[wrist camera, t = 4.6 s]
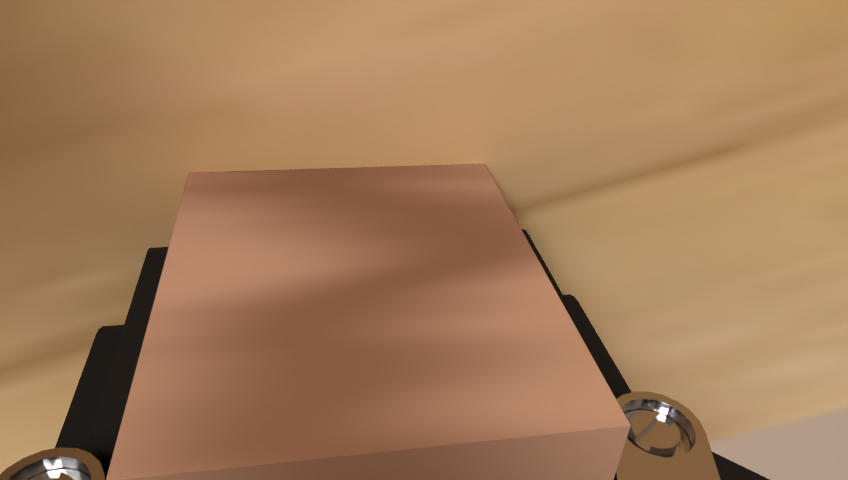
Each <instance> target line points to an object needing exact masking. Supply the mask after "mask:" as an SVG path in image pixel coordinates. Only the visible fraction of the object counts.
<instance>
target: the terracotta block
mask: <svg viewBox="0 0 848 480" xmlns="http://www.w3.org/2000/svg"><path fill="white" fill-rule="evenodd" d="M630 427H631V425H630V423H629V422H628V420H627V418H626V416H625V414H624V413H623V411H622V409H621V407H620V406H619V404H618V402H617V400H616V398H615V397H614V395H613V393H612V391H611V389H610V388H609V386H608V384H607V382H606V380H605V379H604V377H603V375H602V373H601V371H600V370H599V368H598V366H597V364H596V362H595V361H594V359H593V357H592V355H591V354H590V352H589V350H588V348H587V346H586V345H585V343H584V341H583V339H582V337H581V336H580V334H579V332H578V330H577V328H576V327H575V325H574V323H573V321H572V319H571V318H570V316H569V314H568V312H567V310H566V309H565V307H564V305H563V303H562V302H561V300H560V298H559V296H558V294H557V293H556V291H555V289H554V287H553V285H552V284H551V282H550V280H549V278H548V276H547V275H546V273H545V271H544V269H543V267H542V266H541V264H540V262H539V260H538V258H537V257H536V255H535V253H534V251H533V250H532V248H531V246H530V244H529V242H528V241H527V239H526V237H525V235H524V233H523V232H522V230H521V228H520V226H519V224H518V223H517V221H516V219H515V217H514V215H513V214H512V212H511V210H510V208H509V206H508V205H507V203H506V201H505V199H504V198H503V196H502V194H501V192H500V190H499V189H498V187H497V185H496V183H495V181H494V180H493V178H492V176H491V174H490V172H489V171H488V169H487V167H486V165H485V164H459V165H427V166H395V167H362V168H330V169H297V170H265V171H232V172H200V173H189V174H188V178H187V182H186V185H185V189H184V193H183V196H182V200H181V204H180V208H179V211H178V215H177V219H176V222H175V226H174V230H173V233H172V237H171V241H170V245H169V248H168V252H167V256H166V259H165V263H164V267H163V270H162V274H161V278H160V282H159V285H158V289H157V293H156V296H155V300H154V304H153V307H152V311H151V315H150V319H149V322H148V326H147V330H146V333H145V337H144V341H143V345H142V348H141V352H140V356H139V359H138V363H137V367H136V370H135V374H134V378H133V382H132V385H131V389H130V393H129V396H128V400H127V404H126V407H125V411H124V415H123V419H122V422H121V426H120V430H119V433H118V437H117V441H116V444H115V448H114V452H113V456H112V459H111V463H110V467H109V470H108V474H107V478H106V480H613V479H614V476H615V473H616V470H617V467H618V464H619V461H620V458H621V455H622V451H623V448H624V445H625V442H626V439H627V436H628V433H629V430H630Z"/></svg>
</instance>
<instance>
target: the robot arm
mask: <svg viewBox="0 0 848 480" xmlns="http://www.w3.org/2000/svg"><path fill="white" fill-rule="evenodd" d="M522 232H523V233H524V235H525V237H526V239H527V241H528V242H529V244H530V246H531V248H532V250H533V251H534V253H535V255H536V257H537V258H538V260H539V262H540V264H541V266H542V267H543V269H544V271H545V273H546V275H547V276H548V278H549V280H550V282H551V284H552V285H553V287H554V289H555V291H556V293H557V294H558V296H559V298H560V300H561V302H562V303H563V305H564V307H565V309H566V310H567V312H568V314H569V316H570V318H571V319H572V321H573V323H574V325H575V327H576V328H577V330H578V332H579V334H580V336H581V337H582V339H583V341H584V343H585V345H586V346H587V348H588V350H589V352H590V354H591V355H592V357H593V359H594V361H595V362H596V364H597V366H598V368H599V370H600V371H601V373H602V375H603V377H604V379H605V380H606V382H607V384H608V386H609V388H610V389H611V391H612V393H613V395H614V397H615V398H616V400H617V402H618V404H619V406H620V407H621V409H622V411H623V413H624V414H625V416H626V418H627V420H628V422H629V423H630V425H631V427H630V430H629V433H628V436H627V439H626V442H625V445H624V448H623V451H622V455H621V458H620V461H619V464H618V467H617V470H616V473H615V476H614V479H613V480H769V479H767V478H765V477H763V476H761V475H759V474H757V473H755V472H753V471H751V470H748V469H746V468H744V467H742V466H740V465H738V464H736V463H734V462H732V461H730V460H728V459H726V458H724V457H721V456H720V455H718V454H715V453H713V452H712V451H711V448H710V445H709V442H708V439H707V436H706V433H705V431H704V429H703V427H702V425H701V423H700V421H699V420H698V419H697V418H696V417H695V415H694V414H693V413H692V412H691V411H690V410H689V409H687V408H686V407H684V406H683V405H682V404H680V403H679V402H677V401H675V400H673V399H671V398H668V397H666V396H664V395H660V394H656V393H651V392H631V390H630V389H629V387H628V385H627V384H626V382H625V380H624V379H623V377H622V375H621V373H620V372H619V370H618V368H617V367H616V365H615V363H614V362H613V360H612V358H611V357H610V355H609V353H608V351H607V350H606V348H605V346H604V345H603V343H602V341H601V340H600V338H599V336H598V335H597V333H596V331H595V329H594V328H593V326H592V324H591V323H590V321H589V319H588V318H587V316H586V314H585V313H584V311H583V309H582V308H581V306H580V304H579V302H578V301H577V300H576V299H575V297H574V296H572V295H563V294H562V293H561V291H560V289H559V287H558V286H557V284H556V282H555V280H554V279H553V277H552V275H551V273H550V272H549V270H548V268H547V266H546V265H545V263H544V261H543V259H542V257H541V256H540V254H539V252H538V250H537V249H536V247H535V245H534V243H533V242H532V240H531V238H530V236H529V235H528V233H527V232H526V230H522ZM168 248H169V247H160V248H149V249H148V251H147V254H146V258H145V261H144V264H143V267H142V270H141V273H140V277H139V280H138V283H137V286H136V289H135V292H134V296H133V299H132V302H131V305H130V308H129V312H128V315H127V318H126V321H125V324H124V325H117V326H103V327H101V328H100V329H99V330H98V332H97V334H96V336H95V339H94V342H93V345H92V347H91V350H90V353H89V356H88V358H87V361H86V364H85V367H84V369H83V372H82V375H81V378H80V380H79V383H78V386H77V389H76V391H75V394H74V397H73V400H72V402H71V405H70V408H69V411H68V413H67V416H66V419H65V422H64V424H63V427H62V430H61V433H60V436H59V438H58V441H57V444H56V447H55V448H54V449H49V450H43V451H40V452H38V453H35V454H33V455H30V456H28V457H25V458H23V459H21V460H20V461H18V462H16V463H15V464H13V465H12V466H10V467H8V468H7V469H5V470H4V471H3V472H2V473H1V474H0V480H106V478H107V474H108V470H109V467H110V463H111V459H112V456H113V452H114V448H115V444H116V441H117V437H118V433H119V430H120V426H121V422H122V419H123V415H124V411H125V407H126V404H127V400H128V396H129V393H130V389H131V385H132V382H133V378H134V374H135V370H136V367H137V363H138V359H139V356H140V352H141V348H142V345H143V341H144V337H145V333H146V330H147V326H148V322H149V319H150V315H151V311H152V307H153V304H154V300H155V296H156V293H157V289H158V285H159V282H160V278H161V274H162V270H163V267H164V263H165V259H166V256H167V252H168Z"/></svg>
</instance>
